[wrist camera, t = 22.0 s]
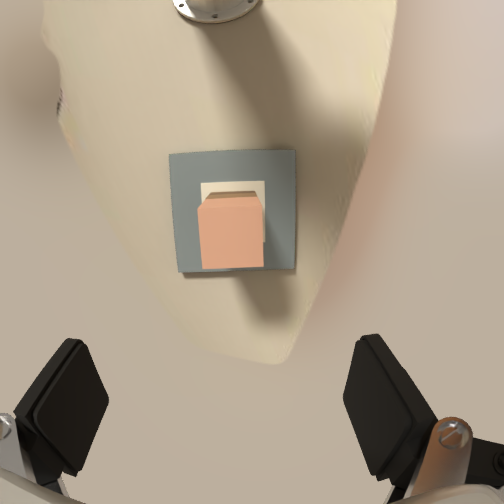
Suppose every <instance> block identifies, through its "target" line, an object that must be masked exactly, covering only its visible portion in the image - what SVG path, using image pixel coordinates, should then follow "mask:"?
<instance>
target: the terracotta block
mask: <svg viewBox="0 0 504 504" xmlns="http://www.w3.org/2000/svg"><path fill="white" fill-rule="evenodd" d="M197 211H198V224H199V236H200V248H201V258H202V269H220V268H243V267H264V263H263V219H262V204H261V202H260V200H259V198H258V197H236V198H216V199H205V200H204V201H203V203H202V204H201V205H200V206H199V207H198V209H197Z"/></svg>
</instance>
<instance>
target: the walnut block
mask: <svg viewBox="0 0 504 504" xmlns="http://www.w3.org/2000/svg"><path fill="white" fill-rule="evenodd" d="M236 197H257V194H256V192H255V191H229V192H211V193H210V194H209V195H208V196H207V197H206V198H205V199H216V198H236Z"/></svg>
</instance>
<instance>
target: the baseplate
mask: <svg viewBox="0 0 504 504" xmlns="http://www.w3.org/2000/svg"><path fill="white" fill-rule="evenodd" d="M169 167H170V185H171V201H172V214H173V226H174V237H175V247H176V256H177V265H178V272H216V271H247V270H275V269H294V259H295V213H296V150H226V151H207V152H192V153H179V154H169ZM229 191H255V192H256V194H257V197H258V198H259V200H260V202H261V204H262V219H263V263H264V267H243V268H220V269H202V258H201V248H200V236H199V224H198V211H197V209H198V207H199V206H200V205H201V204H202V203H203V201H204V200H205V198H206V197H207V196H208V195H209V194H210V193H211V192H229Z"/></svg>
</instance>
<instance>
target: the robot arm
mask: <svg viewBox="0 0 504 504" xmlns="http://www.w3.org/2000/svg"><path fill="white" fill-rule="evenodd" d="M257 2H258V0H173V3H174V6H175V7H176V9H177V11H178V12H179V13H180V14H181V15H183V16H184V17H186V18H188V19H190V20H193V21H197V22H201V23H220V22H227V21H230V20H233V19H236V18H238V17H241V16H243V15H244V14H246V13H248V12H249V11H250V10H251V9H252V8H253V7H254V6H255V5H256V4H257ZM343 401H344V405H345V407H346V410H347V412H348V415H349V418H350V420H351V423H352V425H353V428H354V431H355V434H356V436H357V439H358V442H359V444H360V447H361V450H362V453H363V455H364V458H365V461H366V464H367V466H368V469H369V472H370V474H371V475H372V476H374V475H376V478H377V481H381V480H384V479H387V478H389V479H390V482H391V484H392V487H391V490H390V492H389V494H388V496H387V498H386V500H385V502H384V504H504V445H503V444H498V443H494V442H490V441H485V440H481V439H477V438H473V432H472V429H471V427H470V426H469V425H468V423H467V422H465V421H464V420H462V419H460V418H457V417H446V418H443V419H441V420H439V421H438V419H437V418H436V416H435V414H434V413H433V411H432V410H431V408H430V407H429V405H428V403H427V402H426V401H425V399H424V397H423V396H422V394H421V393H420V391H419V390H418V388H417V387H416V385H415V384H414V382H413V381H412V379H411V378H410V376H409V375H408V373H407V372H406V370H405V369H404V368H403V367H402V366H401V365H400V363H399V362H398V360H397V359H396V358H395V356H394V355H393V354H392V352H391V350H390V349H389V347H388V346H387V345H386V343H385V342H384V340H383V339H382V338H381V336H380V335H379V334H371V335H364V336H362V337H361V338H360V340H358V341H357V342H356V344H355V349H354V353H353V357H352V361H351V366H350V370H349V374H348V379H347V382H346V386H345V390H344V393H343ZM108 403H109V397H108V394H107V392H106V390H105V388H104V386H103V383H102V381H101V379H100V377H99V374H98V372H97V370H96V367H95V365H94V362H93V360H92V357H91V355H90V352H89V350H88V347H87V345H86V344H84V343H83V341H82V340H80V339H72V338H68V339H66V340H65V341H64V342H63V343H62V345H61V346H60V347H59V348H58V350H57V351H56V352H55V354H54V355H53V356H52V357H51V359H50V360H49V361H48V363H47V364H46V366H45V367H44V368H43V369H42V371H41V372H40V374H39V375H38V376H37V378H36V379H35V381H34V382H33V383H32V385H31V386H30V388H29V389H28V390H27V392H26V393H25V395H24V396H23V398H22V399H21V401H20V402H19V404H18V405H17V407H16V408H15V410H14V411H13V412H14V413H15V415H16V418H15V419H14V418H13V417H12V416H11V415H9V414H7V413H0V504H85V503H82V502H80V501H77V500H74V499H71V498H70V497H69V495H68V492H67V490H66V488H65V485H64V483H63V480H62V477H61V474H62V471H63V472H64V473H66V474H69V475H72V476H74V477H76V476H77V473H78V471H80V470H82V468H83V466H84V463H85V460H86V458H87V455H88V452H89V450H90V447H91V445H92V442H93V440H94V437H95V435H96V432H97V430H98V427H99V425H100V423H101V420H102V418H103V415H104V413H105V411H106V408H107V406H108Z"/></svg>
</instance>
